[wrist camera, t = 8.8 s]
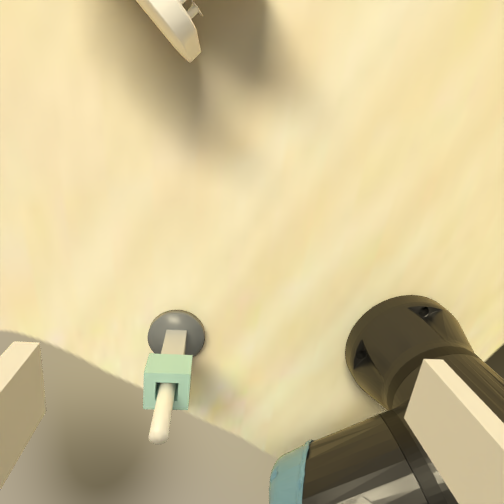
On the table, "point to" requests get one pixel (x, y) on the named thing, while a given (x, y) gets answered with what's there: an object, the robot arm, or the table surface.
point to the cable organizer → (175, 24)
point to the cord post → (171, 342)
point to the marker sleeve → (167, 378)
